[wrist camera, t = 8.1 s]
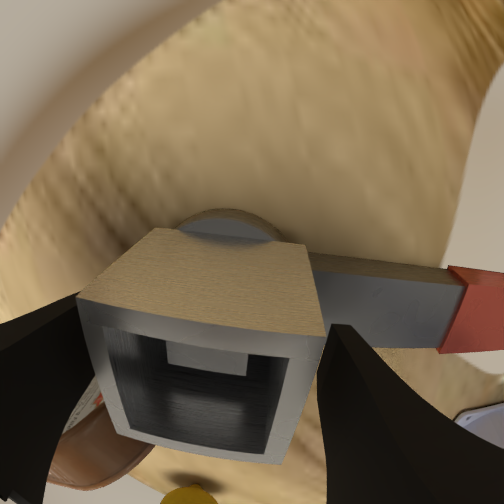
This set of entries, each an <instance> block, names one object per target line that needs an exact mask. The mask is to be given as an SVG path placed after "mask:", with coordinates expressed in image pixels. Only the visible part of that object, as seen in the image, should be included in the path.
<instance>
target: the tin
mask: <svg viewBox="0 0 504 504" xmlns="http://www.w3.org/2000/svg"><path fill="white" fill-rule="evenodd" d="M154 447H155V445H154V444H151V443H147V442H143V441H140V440H136V439H133V438H130V437H127V436H123V435H120V434H117V432H116V430H115V427H114V425H113V422H112V420H111V417H110V415H109V412H108V410H107V407H106V404H105V401H104V399H103V396H102V393H101V390H100V387H99V384H98V381H97V378H96V375H95V377H94V378H93V380H92V381H91V383H90V384H89V386H88V388H87V389H86V391H85V392H84V394H83V395H82V397H81V399H80V400H79V402H78V403H77V405H76V407H75V408H74V410H73V412H72V413H71V415H70V417H69V419H68V421H67V423H66V426H65V428H64V430H63V433H62V435H61V437H60V440H59V442H58V445H57V448H56V451H55V454H54V457H53V460H52V463H51V466H50V470H49V474H48V478H47V481H46V482H49V483H53V484H56V485H60V486H64V487H69V488H72V489H77V490H83V491H88V490H95V489H98V488H101V487H104V486H107V485H109V484H111V483H112V482H114V481H116V480H118V479H120V478H121V477H122V476H124V475H125V474H127V473H129V472H130V471H131V470H132V469H133V468H134V467H136V466H137V465H138V464H139V463H140V462H141V461H142V460H143V459H144V458H145V457H146V456H147V455H148V454H149V453H150V452H151V450H152V449H153V448H154Z"/></svg>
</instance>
